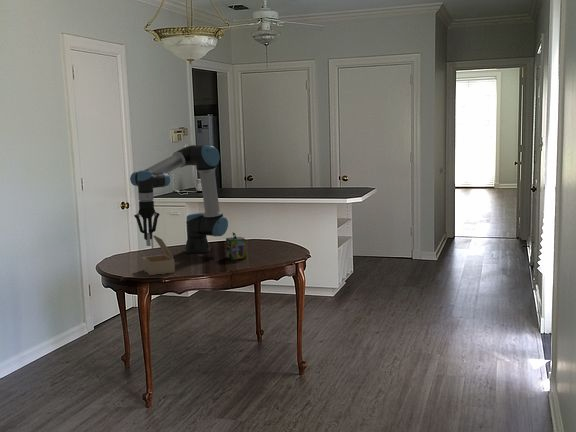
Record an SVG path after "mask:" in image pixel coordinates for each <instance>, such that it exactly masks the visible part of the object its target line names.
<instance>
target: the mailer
mask: <svg viewBox="0 0 576 432" xmlns="http://www.w3.org/2000/svg"><path fill="white" fill-rule="evenodd" d="M141 258H142V259H141V260H142V262H141V263H142V271H143V270H144V271H143V272H145V273H146V272H147V273H148V274H147V273H146V274H147V275H148V276H150V275H154V276H157V275H156V274H162V275H167V274H166V273H169V274H175V273H176V270H175V269H176V266H175V258H174V257H173V258H172V257H170V256H168V255H167V254H158V255H151V256H142V257H141Z"/></svg>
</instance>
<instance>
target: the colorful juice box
mask: <svg viewBox="0 0 576 432" xmlns="http://www.w3.org/2000/svg"><path fill="white" fill-rule="evenodd" d="M225 240H226V241H225V243H226V245H225V246H226V257H227V258H228V259H229V260H231V261H235V260H236V261H237V260H242V259H247V246H246V245H247V243H246V238H245V237H242V236H237V235H236V233H235V232H233V231H232V236H231V237H226V238H225Z"/></svg>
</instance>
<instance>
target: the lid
mask: <svg viewBox="0 0 576 432" xmlns="http://www.w3.org/2000/svg"><path fill="white" fill-rule="evenodd" d="M152 238H154V240H155V241H156V243H157V244H158V245H159V247H160V249H161V250H162V252H163V253H164V255H168V256H169V257H171V258H173V259H174V255H173V254H172V253H171V251H170V249H169V248H168V247H167V245H166V243H165V242H164V240H163V239H162V238H160V237H158V236H157V235H155V234H154V235H152Z"/></svg>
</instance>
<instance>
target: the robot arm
mask: <svg viewBox="0 0 576 432" xmlns="http://www.w3.org/2000/svg"><path fill="white" fill-rule="evenodd" d="M220 158H221V157H220V152H219V150H218V149H217V148H216V147H215V146H213V145H209V144H200V145H199V144H198V145H197V144H196V145H195V144H193V145H189V146H184V147H183V148H181V149H178V150H176V151H175V152H173V154H172V155H171V156H169V157H167V158H165V159H163V160H161V161H160V162H157V163H155V164H153V165H151V166H149V167H148V168H145V169H144V170H138V171H134V172H132V173H131V174H130V180H129V181H130V183H131V185H132V186H135V187H137V189H138V192H137V193H138V208H139V210H138V212H137V213H136V214H134V218H135V219H136V222H137V226H138V229H139V232H140V233H141V234H143V239H144V240H145V242H146V245H145V246H147V247H151V240H152V239H153V233H155V232H156V230H157V224H158V219H159V216H160V213H159V212H157V211H156V210H155V202H154V199H155V198H154V189H157V188H165V187H168V186H170V183H171V178H170V177H171V176H170V174H169V173H171V172H172V171H175V170H176V169H178V168H184V167H187V166H195V168H196V171H197V172H198V173H199V176H200V177H199V179H200V184H201V191H202V198H203V208H204V212H197V213H191V214H188V215H186V222H185V225H186V235H187V236H186V242H185V247H184V253H186V254H205V253H208V252H210V251H211V247H210V244H209V241H208V238H207V237H208V236H211V237H222V236H224V235H225V234H226V232H227V230H228V228H229V221H228V219H227V217H225V216H224V214H223V213H224V212H223V211H221V210H220V203H219V195H218V188H217V181H216V173H215V170H216V169H217V165H219V162H220V161H221V160H220ZM153 216H154V217H153ZM140 217H141V218H142V222H141V219H140ZM152 219H153V220H152ZM152 221H153V223H152ZM142 224H143V225H142Z"/></svg>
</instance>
